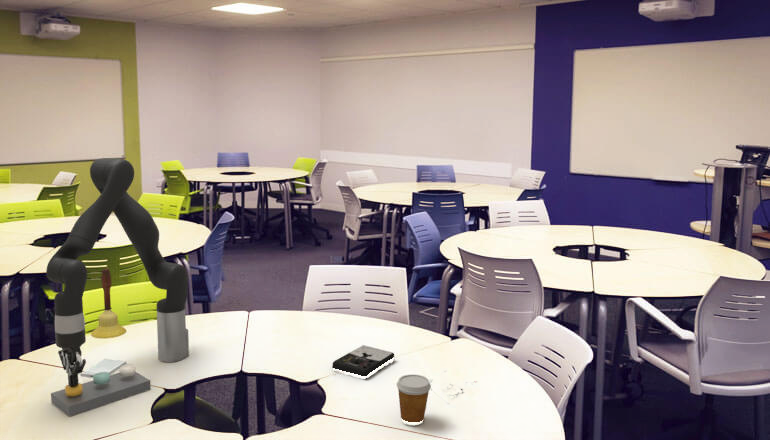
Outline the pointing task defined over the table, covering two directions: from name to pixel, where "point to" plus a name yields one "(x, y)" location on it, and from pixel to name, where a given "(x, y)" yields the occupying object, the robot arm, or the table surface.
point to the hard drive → (104, 367)
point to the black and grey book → (362, 360)
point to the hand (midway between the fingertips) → (73, 385)
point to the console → (100, 393)
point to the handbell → (107, 313)
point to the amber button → (73, 390)
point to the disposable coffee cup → (413, 397)
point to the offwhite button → (127, 370)
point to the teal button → (101, 378)
